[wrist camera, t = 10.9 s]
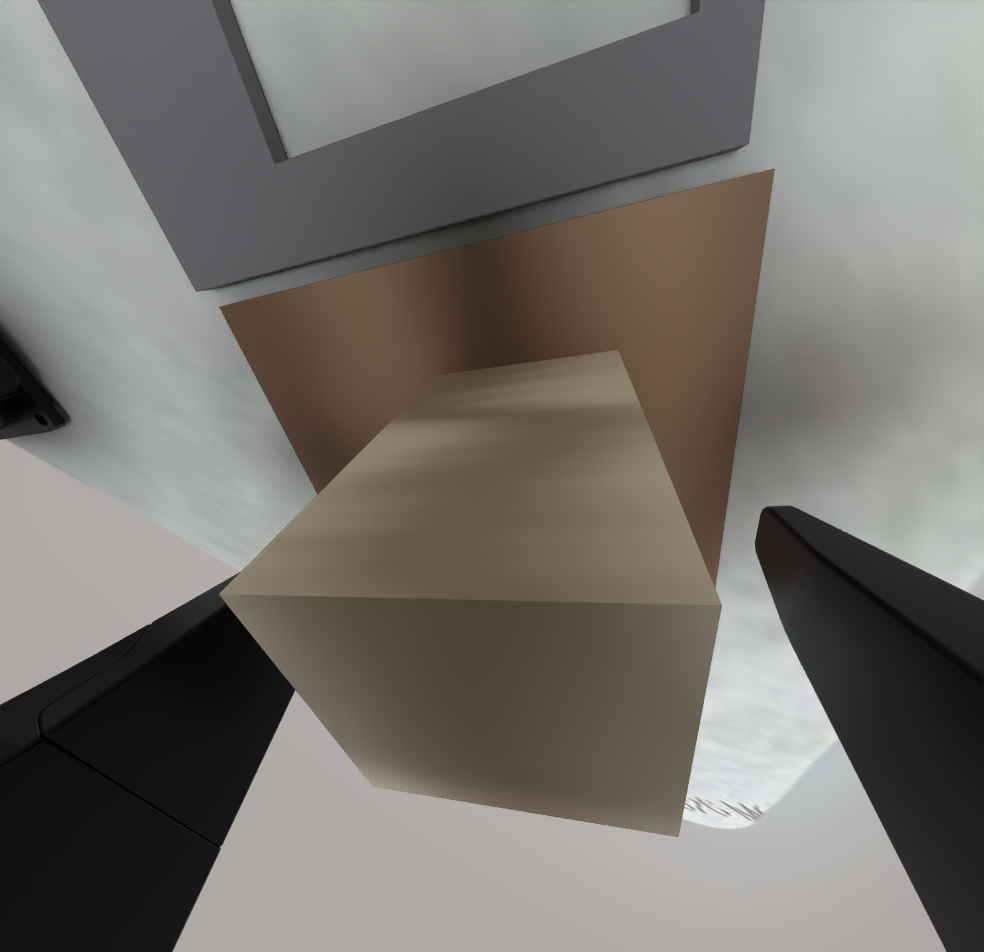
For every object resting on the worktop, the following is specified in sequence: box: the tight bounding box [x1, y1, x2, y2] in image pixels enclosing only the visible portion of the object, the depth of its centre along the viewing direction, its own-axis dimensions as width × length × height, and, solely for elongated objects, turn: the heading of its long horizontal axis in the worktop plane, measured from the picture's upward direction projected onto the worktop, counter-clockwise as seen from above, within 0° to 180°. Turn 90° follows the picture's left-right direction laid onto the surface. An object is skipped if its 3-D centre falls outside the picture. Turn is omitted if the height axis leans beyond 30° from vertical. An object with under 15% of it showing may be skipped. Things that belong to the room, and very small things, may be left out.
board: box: [219, 169, 774, 587], centre depth 12 cm, size 14×12×1 cm
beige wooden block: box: [219, 350, 722, 837], centre depth 8 cm, size 5×5×8 cm
